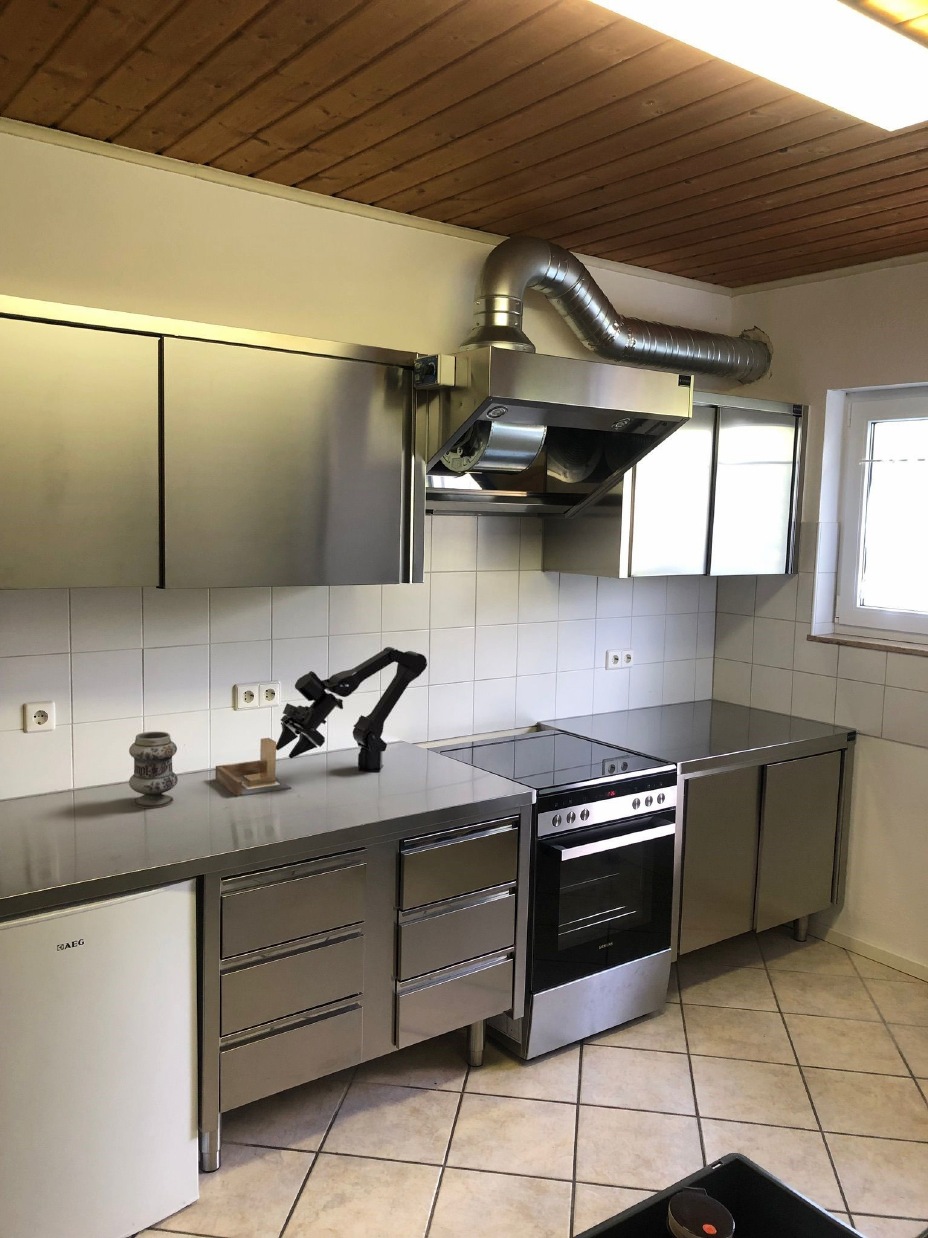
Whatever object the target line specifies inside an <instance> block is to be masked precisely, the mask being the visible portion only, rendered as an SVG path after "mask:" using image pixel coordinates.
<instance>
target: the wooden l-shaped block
mask: <svg viewBox="0 0 928 1238" xmlns="http://www.w3.org/2000/svg"><path fill="white" fill-rule="evenodd" d="M276 745H277V741H276V740H273V739H272V738H270V737H265V738H264V737H263V738H260V751H259V752H260V755H259V757H260V759H259V760H260V773H259V774H252V775H244V776H243V783H244V784H246V785H247V786H248V787H257V786H264V785H271V784H275V780H276V778H277V777H276V776H277V774H276V773H277V772H276V769H277V768H276V767H277V763H276V762H277V750H276Z"/></svg>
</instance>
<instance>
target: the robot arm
mask: <svg viewBox="0 0 928 1238" xmlns="http://www.w3.org/2000/svg"><path fill="white" fill-rule="evenodd" d="M393 663H397V665H396V673H395V675H394V677H393V679H392V680H391V682H390V683H389V684H388V686H387V688H385V689H386V690H384V692H383V694H382V695H381V696H380V698H379V700H378V702H377V703H376V705H375V706H374V708H373V709H372V711H371V713H369V714H368V715H367V716H364V715H363V714H362V715H360V716H359V718H358V720H357V721H356V722H355V724H353V727H354V728H353V730H352V737H353V739H354V740H355V742H356V743H357V746H358V747H360V750H359V752H358V757H357V767H358V771H362V772H375V773H376V772H377V773H379V772H381V771H382V769H383V768H384V764H383V752H385V751H386V749H387V746H388V743H387V742H385V740H383V738H382V735H383V733H384V727H385V726H384V724H385V721H386V720H387V718H388V717H389V715H390V714H391V712H392V710H393V709H394V707H395V706H396V704H398V702H399V700H400V698H401V697H402V696H403V694H404V692H405V691H406V689H407V688H408V686H409V684H410V683H411V682H413V681H415V680H416V679H417V678H419V677H420V676H421V675H422V673H424V671H425V670H426V668H427V666H428V662H427V658H426V656H425V654H422V653H418V652H415V651H413V650H407V651H404V652H403V651H401V650H398V649H397V648H396V647H395V648H394V647H391V646H387V647H384V648H383V650H381V651H380V652H378V653H377V654H375V655H373V656H371V657H370V658H368V659H366V660H365V661H363V662H362V663H361V662H360V664H358V665H357V666H355V667H353V668H350V669H348V670H343V671H339V672H337V673H335V674H332V675H331V676H329V678H327V679H320V678H319V676H318V675H317V674H316V673H315V671H309V672H308V673H306V674H303V675H302V676H301V677H299V678H298V679H297V680H296V682H295V683H294V688H295V690H296V691H298V693H299V694H301V695H302V696H303V697H304V698H305V699H306V700H307V701H308V702H312V701H313V702H312V703H311V704H310V705H309V706H308V705H305V706H302V705H301V704H299V705H298V706H296V705H293V704H290V703H288V702H286V705H285V706H284V709H283V712H282V714H283V715H282V718H281V719H280V725H281V734H280V735H279V738H278V741H276V751H281V749H283V748H284V747H286V746H287V745H289V744H290V743H292V742H293V741H294V740H295V739H296V740H297V738H298V737H299V738H298V741H297V742H296V743H295V745H294V746H293V748H292V749H291V751H290V753H289V754H288V758H290V759H293V758H295V757H298V756H300V755H301V754H304V753H306V752H309V751H310V750H313V749H317V748H318V747H319V748H321V747H322V746H323V745H324V744H325V741H326V738H325V736H324V735H323V734H322V733H320V732H319V731H318V728H319V727H320V726H321V725H322V724H323V725H325V724H326V723H328V722H327V721H326V719H327V717H328V716H329V715H330V714H331V713H332V712H333V710H334V709H335V708H338V709H340V710H343V709H344V704H343V702H344V701H343V699H341V698H338V697H342V698H347V697H349V696H351V695H352V693H354V692H356V690H357V689H358V688H359V686H360V685H361V684H362V683H363V681H365V680H367V679H368V678H371V677H372V676H373V675H375V674H376V673H378V672H380V671H382V670H383V669H384V668H386V667H388V666H389V665H391V664H393ZM327 691H329V693H328V692H327ZM334 694H335V695H337V696H338V697H336V696H335V695H334Z"/></svg>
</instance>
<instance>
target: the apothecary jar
mask: <svg viewBox="0 0 928 1238" xmlns="http://www.w3.org/2000/svg"><path fill="white" fill-rule="evenodd" d="M177 750H178V747H177V745H176V743H175V742H174V741H172V739H171V734H170V733H168V732H166V731H145V732H140V733H137V734H136V735H135V740H134V742H133V743H132V744H131V745H130V747H129V749H128V752H129V755H130V756H131V757H132V758H133V774H132V775H131V776H130V778H129V779H128V785H129V788H131V790H132V791H134V792H136V793H138V794H141V796H139V797H136V798H135V799H134V801H133V805H134V806H136V807H138V808H142V809H143V808H144V809H156V808H163V807H166V806H170V805H171V804H172V803H173V802H174V798H173V797H172V796H171V795H168V794H165V793H166V792H169V791H170V790H172V789H173V788H174V787H176V786H177V784H178V776H177V774H176V773H175V772H174V771H173V756H175V755H176V753H177Z"/></svg>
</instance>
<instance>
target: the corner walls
mask: <svg viewBox="0 0 928 1238" xmlns="http://www.w3.org/2000/svg"><path fill="white" fill-rule="evenodd" d="M259 773H260V759H259V760H252V761H246V762H245V761H244V762H236V763H235V762H234V763H228V764H227V763H226V764H221V765H216V766H215V781H216V780H217V781H216V782H218V783H219V784H220V783H221V784H220V785H222V786H223V787H224V786H225V788H226V789H227V790H228V789H229V790H228V791H230V792H231V793H232V792H233V793H232V794H233V795H235V796H236V797H243V796H242V781H241V780H239V779H238V778H237V777H241V776H244V775H252V774H259Z"/></svg>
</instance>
